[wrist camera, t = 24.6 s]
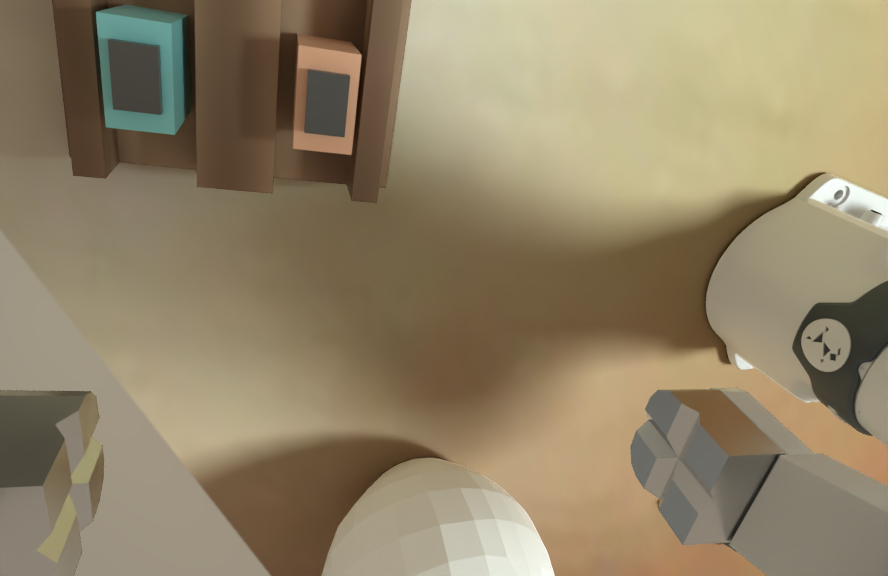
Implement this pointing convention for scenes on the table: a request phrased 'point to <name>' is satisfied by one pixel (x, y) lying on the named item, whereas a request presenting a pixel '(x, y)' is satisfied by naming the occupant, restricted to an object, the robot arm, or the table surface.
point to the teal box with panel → (144, 68)
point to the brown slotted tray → (241, 92)
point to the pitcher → (436, 527)
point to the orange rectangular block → (325, 94)
